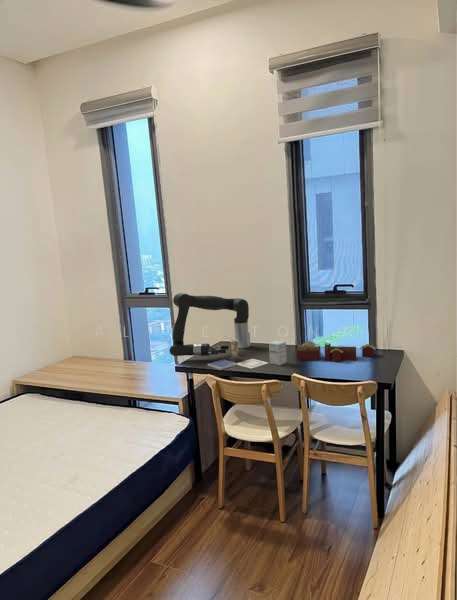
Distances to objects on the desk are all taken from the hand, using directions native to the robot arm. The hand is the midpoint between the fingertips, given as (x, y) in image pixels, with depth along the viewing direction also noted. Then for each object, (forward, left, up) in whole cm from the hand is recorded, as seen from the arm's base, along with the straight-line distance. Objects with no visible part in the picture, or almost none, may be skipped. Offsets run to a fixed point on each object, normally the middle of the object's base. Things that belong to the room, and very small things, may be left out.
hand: (227, 349), depth 277 cm
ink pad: (+10, +7, -7) cm, 14 cm away
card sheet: (-4, +18, -7) cm, 19 cm away
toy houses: (-46, +47, -7) cm, 66 cm away
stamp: (-3, +4, -7) cm, 8 cm away
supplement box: (-15, +29, -7) cm, 33 cm away
